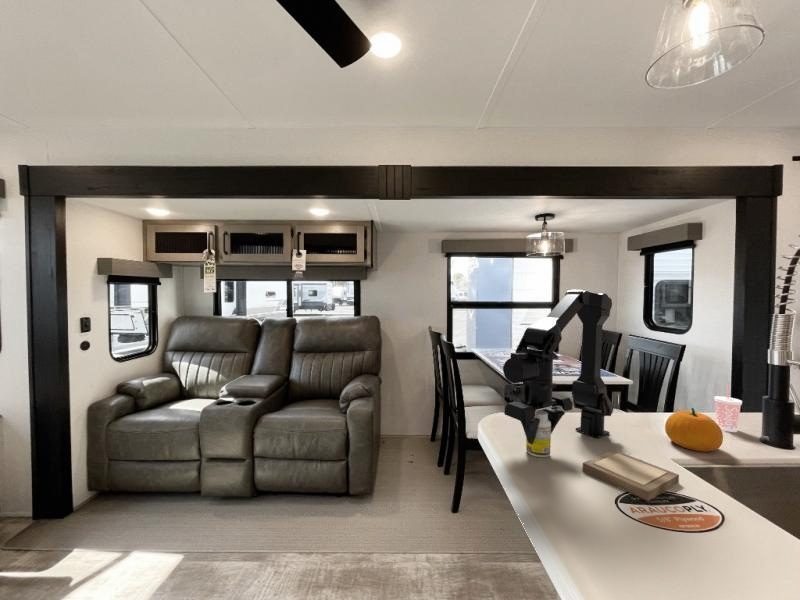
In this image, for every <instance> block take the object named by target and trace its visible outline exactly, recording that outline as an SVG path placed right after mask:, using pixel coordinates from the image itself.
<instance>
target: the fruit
mask: <svg viewBox="0 0 800 600" xmlns="http://www.w3.org/2000/svg"><path fill="white" fill-rule="evenodd" d="M664 425H665V426H664V430H665V434H666V435H667V437H668V438H669V439H670V440H671V441H672V442H673V443H674V444H676V445H678V446H680V447H682V448H686V449H688V450H693V451H696V452H712V451H716V450H718V449H719V448H720V447H721V446H722V444H723V441H724V433H723V430H721V428H720V427H719V426H718V424H717V423H716V420H714V419H712V418H711V417H710V416H708V415H706V414H705V413H704V414H703V413H701V412H697V411H695V408H693V407H691V410H677V411H676V412H674V413H672V414H670V415H669V416H668V417H667V419H666V421H665V424H664Z"/></svg>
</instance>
